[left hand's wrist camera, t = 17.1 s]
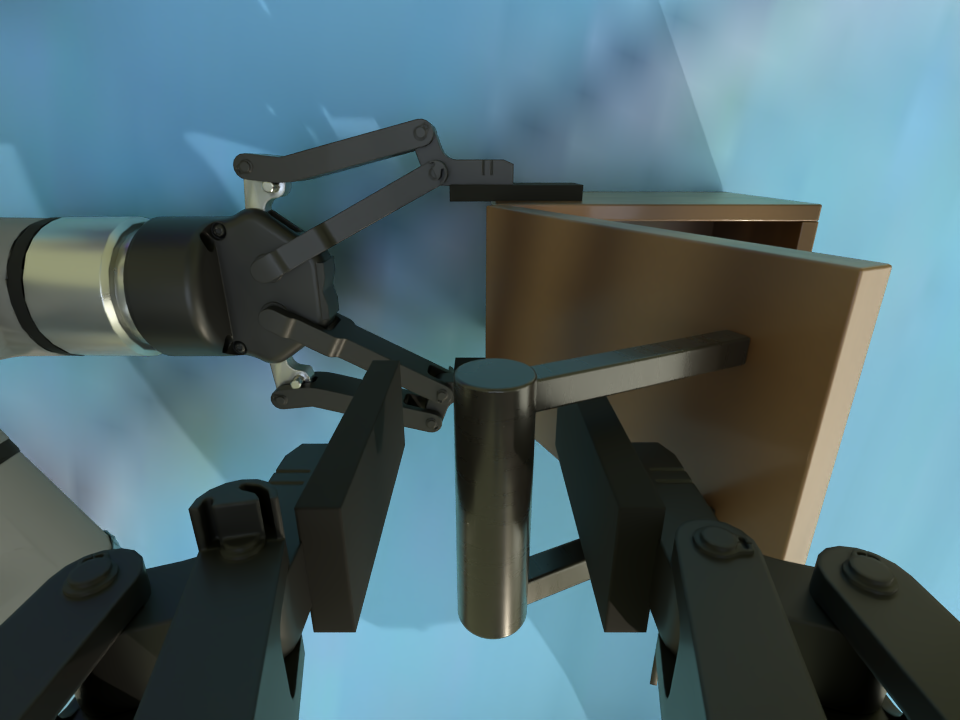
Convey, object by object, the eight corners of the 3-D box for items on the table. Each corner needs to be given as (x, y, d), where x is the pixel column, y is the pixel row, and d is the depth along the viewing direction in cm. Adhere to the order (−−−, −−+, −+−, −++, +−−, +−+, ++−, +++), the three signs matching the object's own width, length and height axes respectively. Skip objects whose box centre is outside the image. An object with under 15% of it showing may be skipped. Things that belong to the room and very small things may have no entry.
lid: (894, 263, 10) (524, 315, 7) (788, 624, 13) (508, 779, 10) (506, 204, 23) (317, 211, 20) (502, 392, 27) (341, 426, 23)
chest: (725, 191, 33) (823, 204, 23) (702, 330, 36) (779, 390, 27) (491, 191, 33) (495, 204, 23) (490, 330, 36) (493, 389, 27)
